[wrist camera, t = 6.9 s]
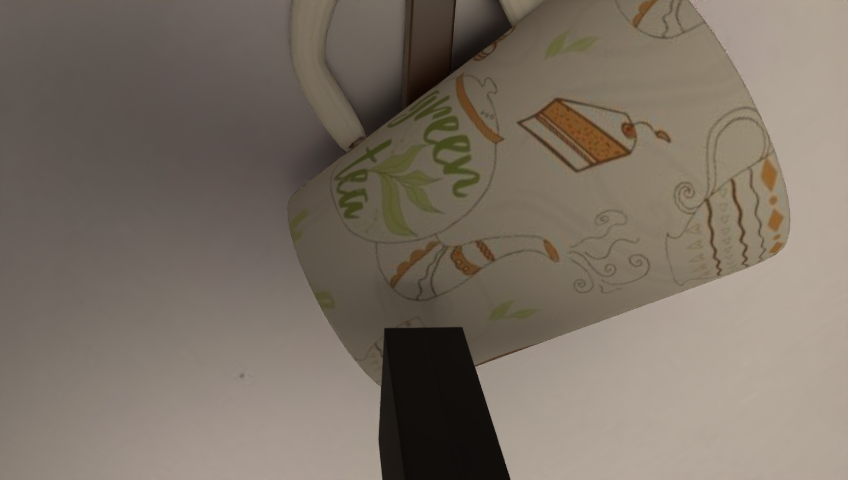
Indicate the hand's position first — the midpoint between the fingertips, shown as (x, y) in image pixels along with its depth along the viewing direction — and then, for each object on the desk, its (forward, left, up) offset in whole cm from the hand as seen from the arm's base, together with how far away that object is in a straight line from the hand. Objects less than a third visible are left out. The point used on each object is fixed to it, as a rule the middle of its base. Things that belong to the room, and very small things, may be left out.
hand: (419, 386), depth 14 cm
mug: (-1, -2, -6) cm, 7 cm away
